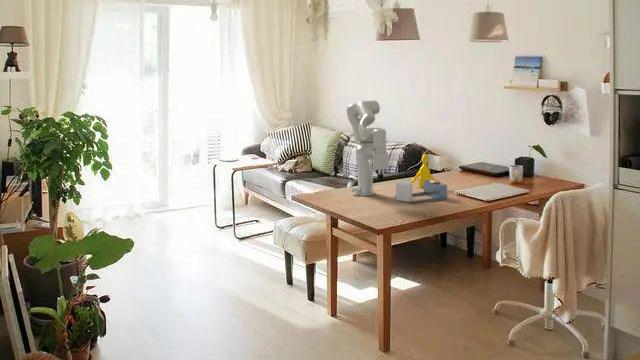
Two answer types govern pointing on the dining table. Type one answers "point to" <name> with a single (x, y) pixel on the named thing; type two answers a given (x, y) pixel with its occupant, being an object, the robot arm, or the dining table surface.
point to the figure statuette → (423, 172)
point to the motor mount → (431, 192)
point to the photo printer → (404, 191)
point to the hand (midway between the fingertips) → (380, 180)
